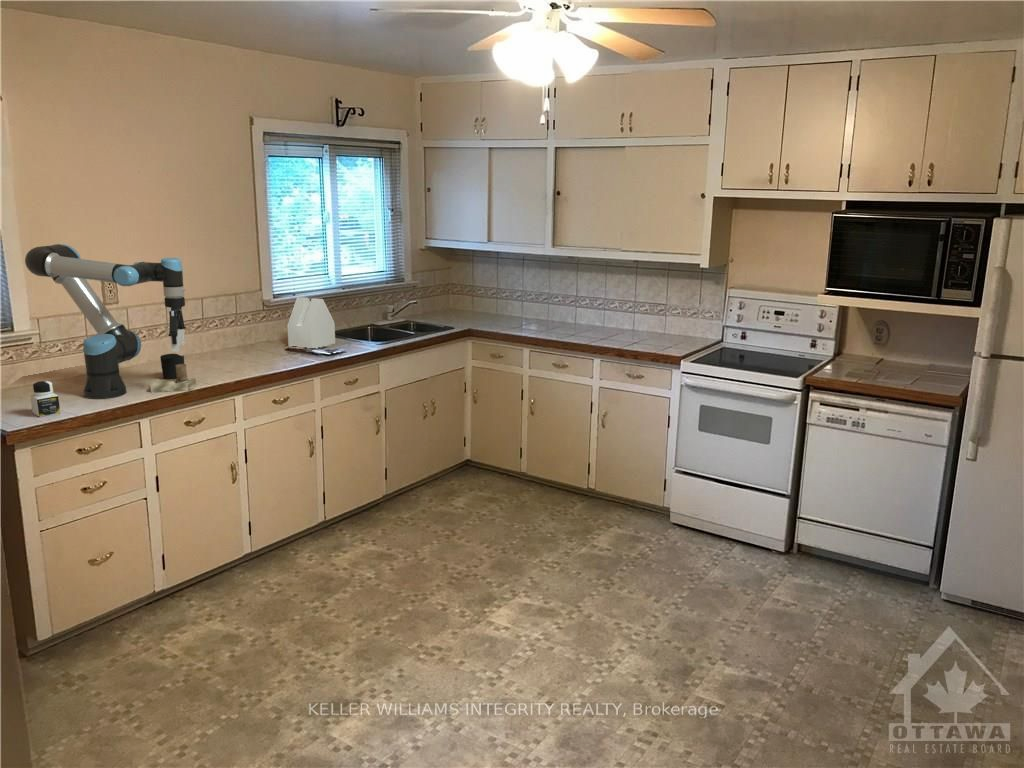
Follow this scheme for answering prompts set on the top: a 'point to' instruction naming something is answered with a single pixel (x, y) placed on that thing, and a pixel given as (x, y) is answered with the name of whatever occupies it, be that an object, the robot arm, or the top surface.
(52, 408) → the medicine bottle
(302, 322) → the white notched tapered block
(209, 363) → the top surface
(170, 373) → the pen holder
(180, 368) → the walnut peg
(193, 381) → the mottled green flat block
